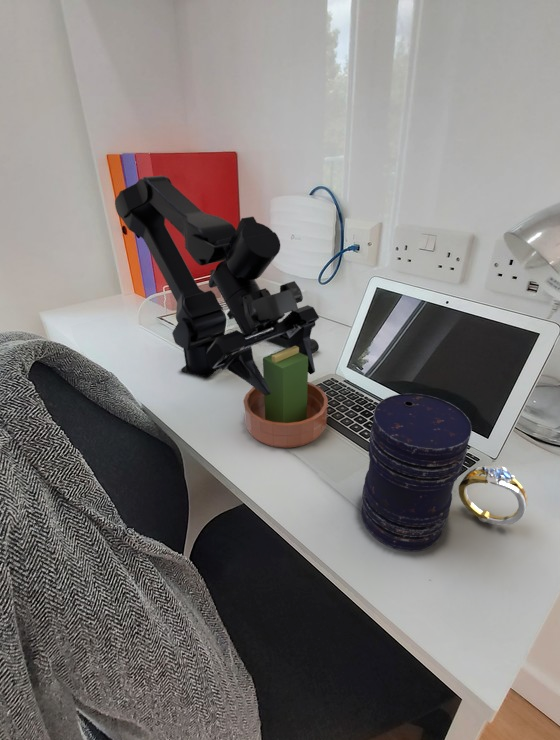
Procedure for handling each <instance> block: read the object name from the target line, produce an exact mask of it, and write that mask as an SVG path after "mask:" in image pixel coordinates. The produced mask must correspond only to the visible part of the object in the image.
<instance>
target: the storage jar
mask: <svg viewBox="0 0 560 740" xmlns="http://www.w3.org/2000/svg"><path fill="white" fill-rule="evenodd" d="M372 417H373V418H372V423H371V429H370V432H369V443H368V447H367V448H368V450H367V451H368V458H369V462H368V463H369V464H368V470H367V471H366V474H365V477H364V484H363V486H362V495H361V497H362V498H361V501H362V502H361V508H360V516H361V520H362V523H363V526H364V527H365V529H366V530H367V532H368V533H369V534H370V535H371V536H372V537H373V538H374V539H376V540H377V541H378V542H380V543H382V544H383V545H385V546H387V547H388V548H392V549H394V550H398V551H402V552H420V551H424V550H427V549H429V548H432V547H433V546H434V545H436V544H437V542H439V541H440V539H441V537H442V534H443V530H444V527H445V525H446V523H447V521H448V518H449V515H450V510H451V505H452V501H453V492H452V491H453V488H454V484H455V482H456V481H457V480H458V478H459V477H460V474H461V473H462V470H463V466H464V463H465V459H466V456H467V452H468V445H469V441H470V438H471V435H472V431H473V426H472V422H471V420H470V419H469V417H468V416H467V415H466V414H465V412H463V411H462V410H461V409H460V408H458V407H457V406H456V405H454V404H453V403H451V402H449V401H446V400H444V399H441V398H438V397H435V396H431V395H427V394H422V393H400V394H394V395H391V396H388V397H386V398H383V399H381V401H379V403H378V404H376V406H375V407H374V411H373V416H372Z"/></svg>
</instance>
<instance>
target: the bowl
mask: <svg viewBox="0 0 560 740" xmlns="http://www.w3.org/2000/svg"><path fill="white" fill-rule="evenodd" d="M328 399H329V398H328V396H327V395H326V392H325V391H324V390H323V389H322V388H321V387H320V386H318V385H316V384H314V383H311V382H309V381H308V386H307V419H306V420H303V421H300V422H292V423H279V422H272V421H268V420H265V401H264V394H262V393H261V392H260V391H258V390H257V389H256V388H254V387H253V386H252V387H251V388H250V389H249V390H248V391H247V392H246V393H245V396H244V398H243V414H244V423H245V428H246V429H247V431H248V432H249V434H250V435H251V436H252V437H253V439H255V440H257V441H258V442H260V443H262V444H265V445H267V446H271V447H274V448H275V447H276V448H285V449H286V448H296V447H301V446H305V445H307V444H310V443H312V442H314V441H315V440H316V439H318V438H319V437H320V436H321V435H322V434H323V432H324V430H325V429H326V428H327V423H328V421H327V420H328V406H329V404H328V403H329V400H328Z"/></svg>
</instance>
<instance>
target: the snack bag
mask: <svg viewBox="0 0 560 740" xmlns="http://www.w3.org/2000/svg"><path fill="white" fill-rule="evenodd" d="M262 374H263V375H262V376H263V378H264V380H265V382H266V383H267V385H268V388H269V390H270V394H269V395H268V396H265V395H264V401H265V420H268V421H272V422H279V423H292V422H300V421H303V420H306V419H307V386H308V382H309V379H308V378H309V373H308V356H306V355H304V354H302V353H299V347H297V346H293V347H291V348H289V347H288V348H286V347H284V348H283V349H280V350H279V351H276V352H273V353H271V354H268V355H266V356H264V357H262Z"/></svg>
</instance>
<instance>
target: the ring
mask: <svg viewBox="0 0 560 740" xmlns="http://www.w3.org/2000/svg"><path fill="white" fill-rule="evenodd" d="M480 474H481V475H480ZM472 484H473V485H474V484H491V485H495V486H498V487H501V488H504V489H506V490H508V491H510V492H511V493H512V494H513V495H514V496H515V498H516V500H517V504H518V507H517V509H516V511H514V512H513V513H512V514H510V515H507V516H498V515H497V516H496V515H493V514H491V513H490V512H489V511H488V510H485V509H483V510H482V509H480V508H479V507H477V505H475V504H474V502H473V501H472V500H471V499H470V497H469V495H468V491H467V487H468V486H470V485H472ZM457 491H458V495H459V498H460V500H461V502H462V504H463V505H464V507H465V508H466V509H467V510H468V511H469V512H470V513H471V514H473V515H474V516H475V517H477V518H478V520H479V521H480V522H483V523H488V524H492V525H496V526H509V525H513V524H515V523H517V522H519V521H520V520H521V519H522V517H523V516H524V514H525V512H526V510H527V507H528V496H527V493H526V490H525V488H524V487H523V486H522V484H521V483H520V482H519V481H518V480H517V479H516V478H515V475H513V474H512V473H511V471H510V470H509V469H508V468H506V467H504V466H501V465H496V464H495V465H482V466H479V467H475V468H473V469H471V470H469V472H468V473H467V474H466V475H465V476H464V477H463V479H462V480H461V482H460V483H459V485H458V490H457Z"/></svg>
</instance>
